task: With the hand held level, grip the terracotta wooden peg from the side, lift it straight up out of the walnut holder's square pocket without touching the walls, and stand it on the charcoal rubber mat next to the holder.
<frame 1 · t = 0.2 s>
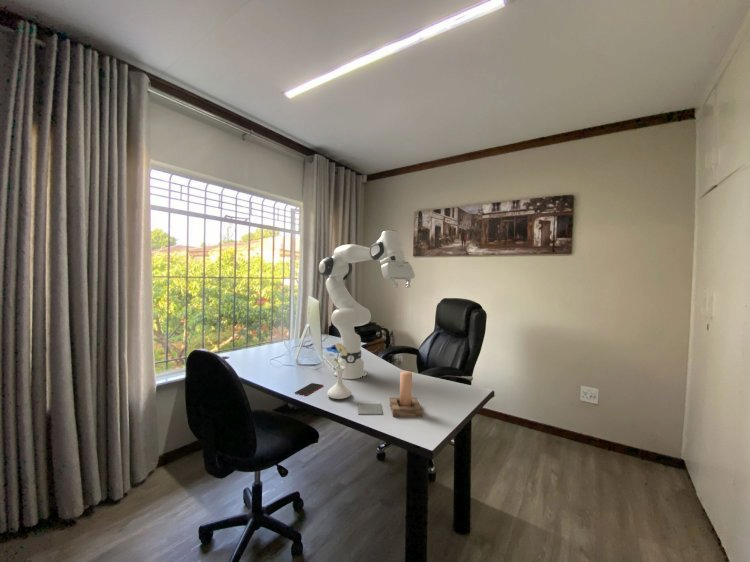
hand: (402, 287, 145), 52 cm above the table, tool tilted 20°, fingers open, 8 cm apart
mat: (370, 409, 128), on the table
smartphone: (309, 390, 149), on the table
holder: (405, 410, 128), on the table
flower in vase: (338, 396, 142), on the table
peg: (405, 391, 128), in the holder
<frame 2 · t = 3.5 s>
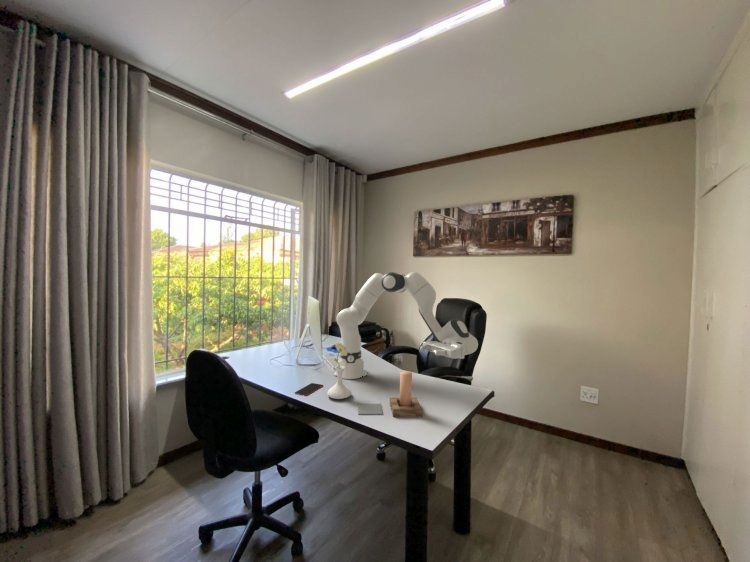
hand: (428, 350, 134), 24 cm above the table, tool horizontal, fingers open, 8 cm apart
nothing on the table moved.
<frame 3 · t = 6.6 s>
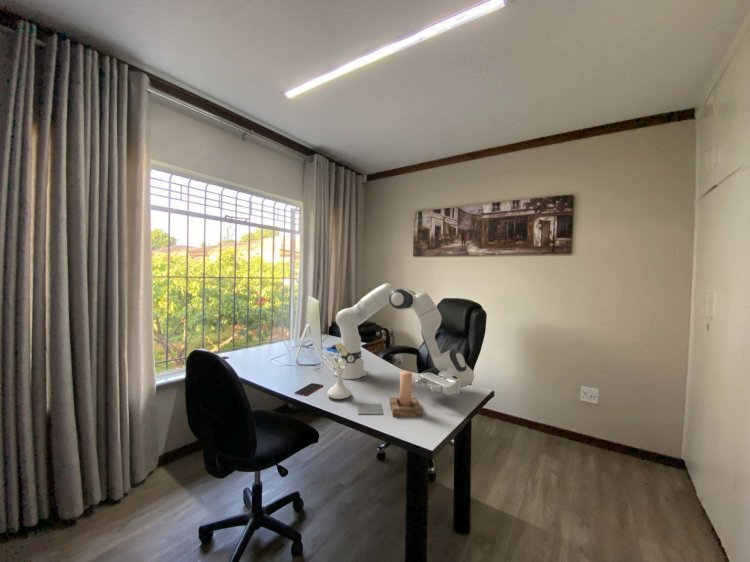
hand: (423, 385, 133), 9 cm above the table, tool horizontal, fingers open, 8 cm apart
nothing on the table moved.
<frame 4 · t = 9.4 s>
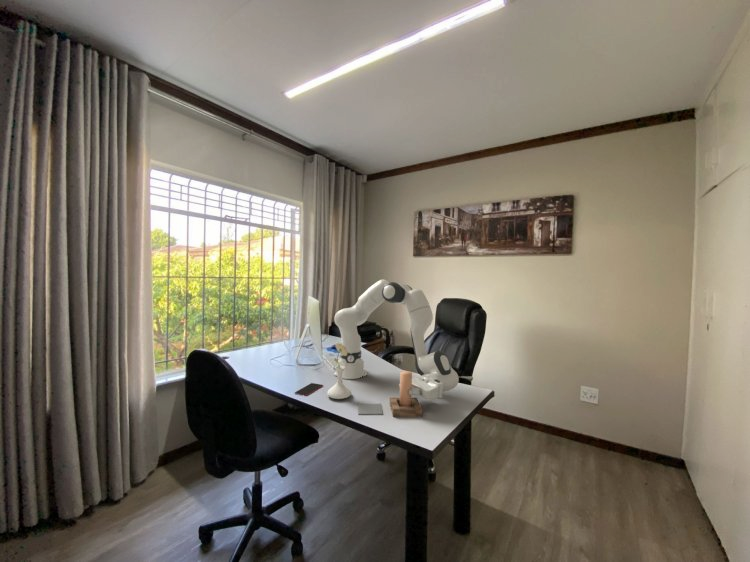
hand: (404, 389, 128), 9 cm above the table, tool horizontal, fingers closed on peg, 5 cm apart
peg: (405, 391, 128), in the holder, touching gripper
everything else where it was.
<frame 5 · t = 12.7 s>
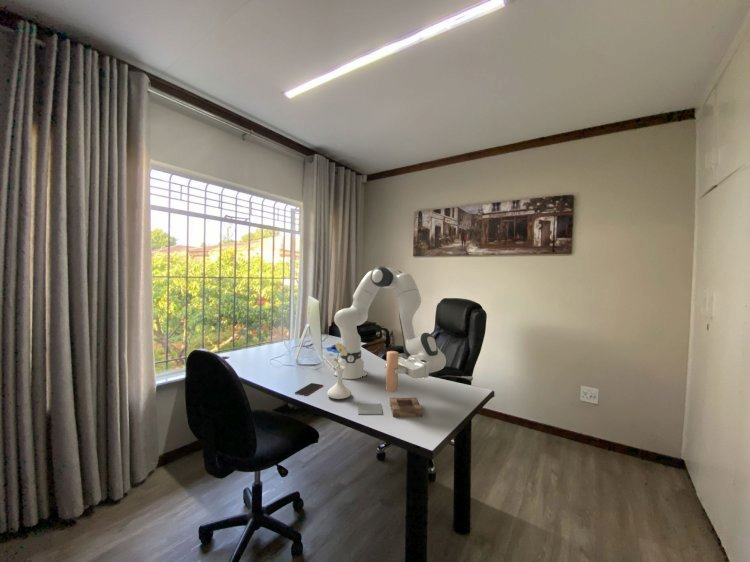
hand: (390, 369, 128), 17 cm above the table, tool horizontal, fingers closed on peg, 5 cm apart
peg: (392, 371, 128), point 16 cm above the table, touching gripper
everything else where it was.
when the fingers open (11 cm above the table, at t = 15.9 s): peg drops 2 cm, resting on mat.
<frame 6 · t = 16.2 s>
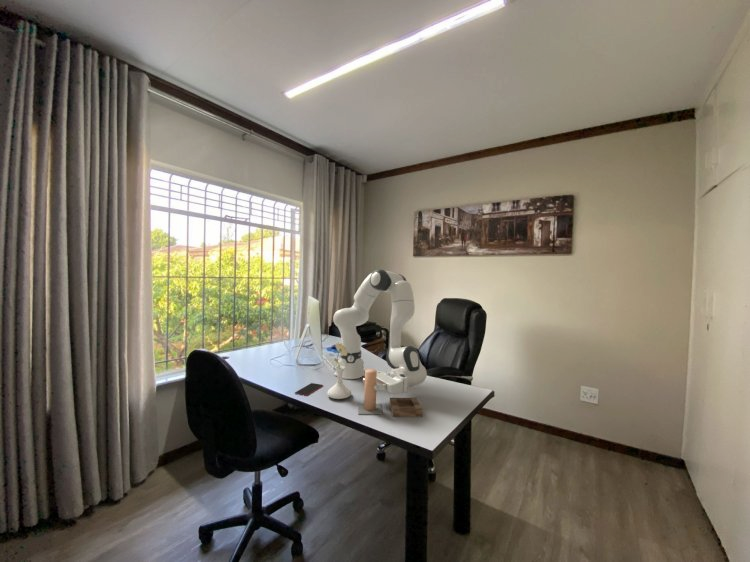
hand: (368, 384, 128), 11 cm above the table, tool horizontal, fingers open, 8 cm apart
peg: (370, 389, 128), on the mat
everything else where it was.
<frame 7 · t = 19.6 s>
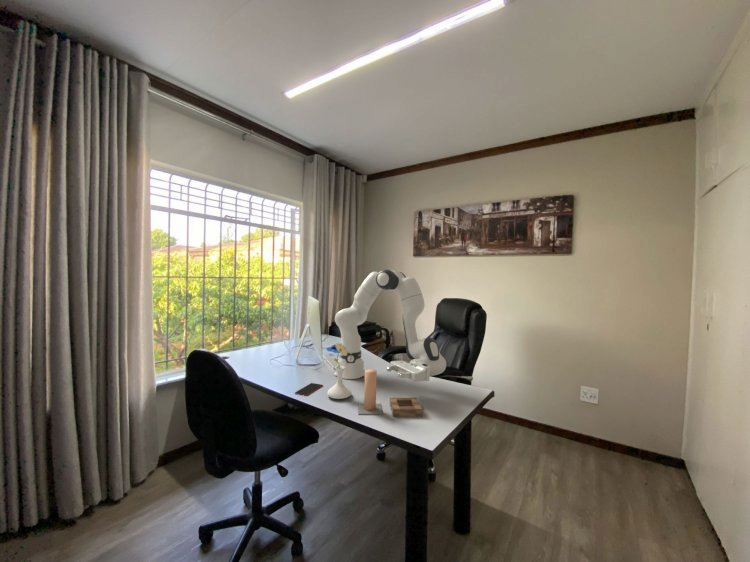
hand: (393, 372, 135), 14 cm above the table, tool horizontal, fingers open, 8 cm apart
nothing on the table moved.
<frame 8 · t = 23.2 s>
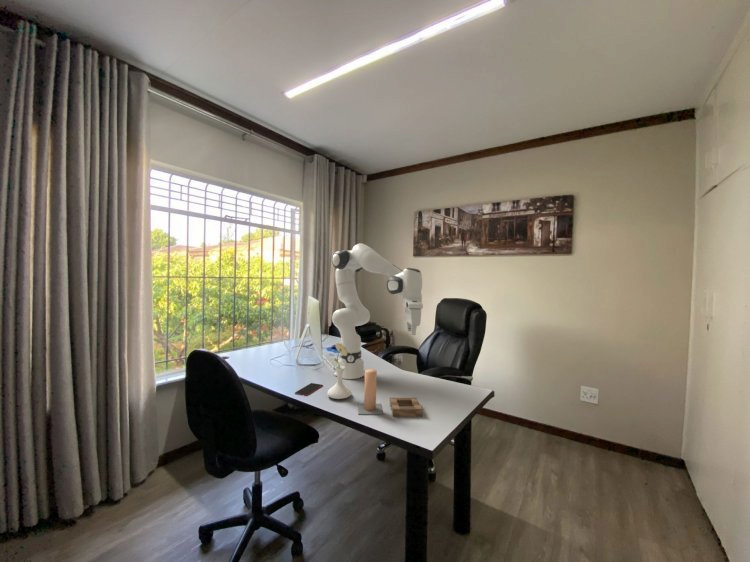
hand: (411, 332, 139), 31 cm above the table, tool pointing down, fingers open, 8 cm apart
nothing on the table moved.
at the end: peg inside the target area on the mat (0.0 cm from its centre), point 8.4 cm above the mat's base; peg tilted 0°; the gripper is holding nothing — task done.
